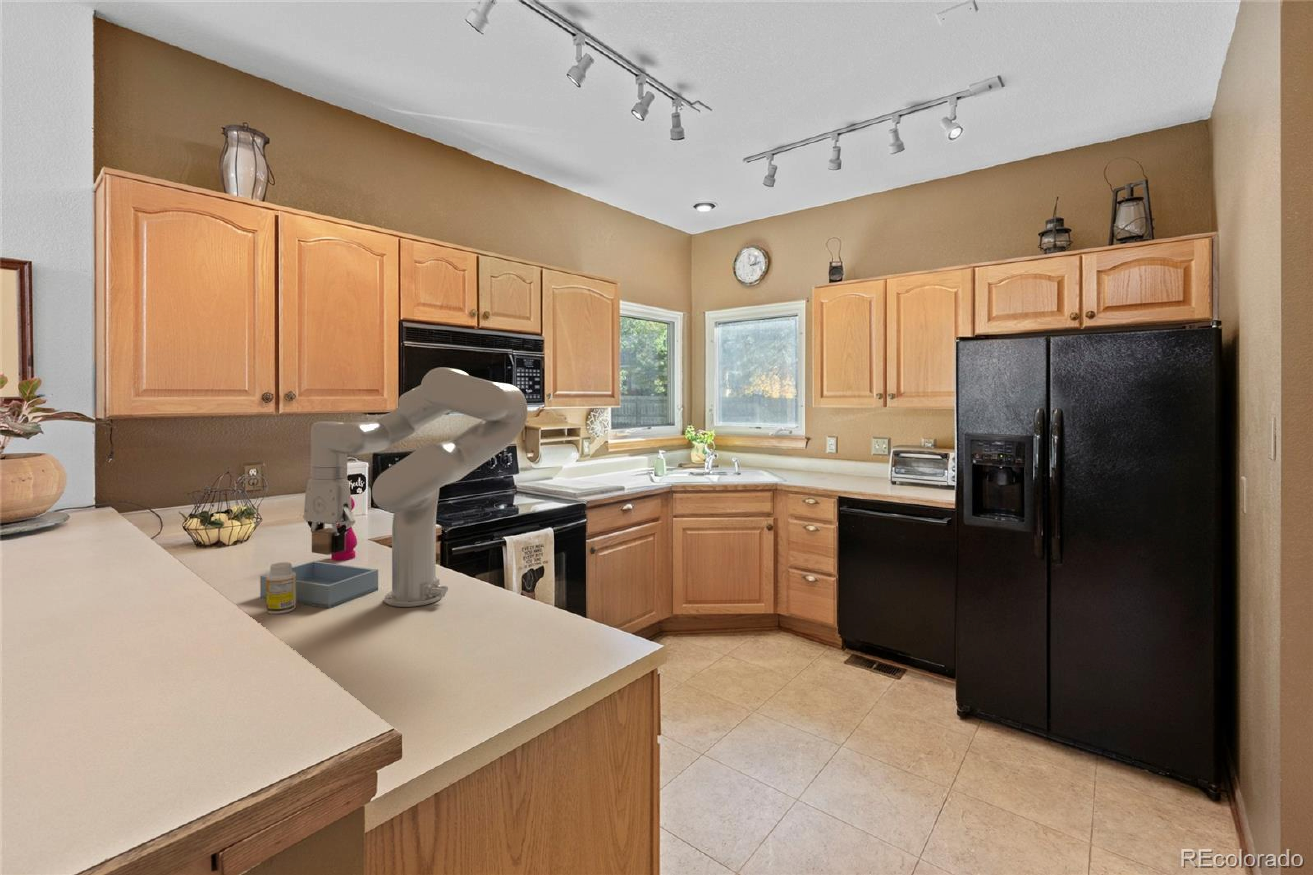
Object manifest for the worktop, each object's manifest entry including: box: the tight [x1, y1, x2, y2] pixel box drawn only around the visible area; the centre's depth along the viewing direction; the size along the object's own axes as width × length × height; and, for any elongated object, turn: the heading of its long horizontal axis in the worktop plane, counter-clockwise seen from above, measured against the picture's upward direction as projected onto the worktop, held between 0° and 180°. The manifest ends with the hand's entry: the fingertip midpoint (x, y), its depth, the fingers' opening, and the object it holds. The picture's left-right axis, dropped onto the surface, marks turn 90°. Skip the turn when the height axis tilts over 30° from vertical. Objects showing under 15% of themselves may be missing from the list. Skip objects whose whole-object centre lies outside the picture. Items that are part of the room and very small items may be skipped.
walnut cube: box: [311, 527, 346, 556], centre depth 142 cm, size 5×5×5 cm
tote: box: [259, 560, 379, 609], centre depth 144 cm, size 21×15×5 cm
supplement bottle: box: [266, 561, 297, 615], centre depth 132 cm, size 6×6×10 cm
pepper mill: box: [330, 497, 358, 562], centre depth 175 cm, size 7×7×20 cm
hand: (328, 549), depth 142 cm, fingers closed on walnut cube, 5 cm apart
